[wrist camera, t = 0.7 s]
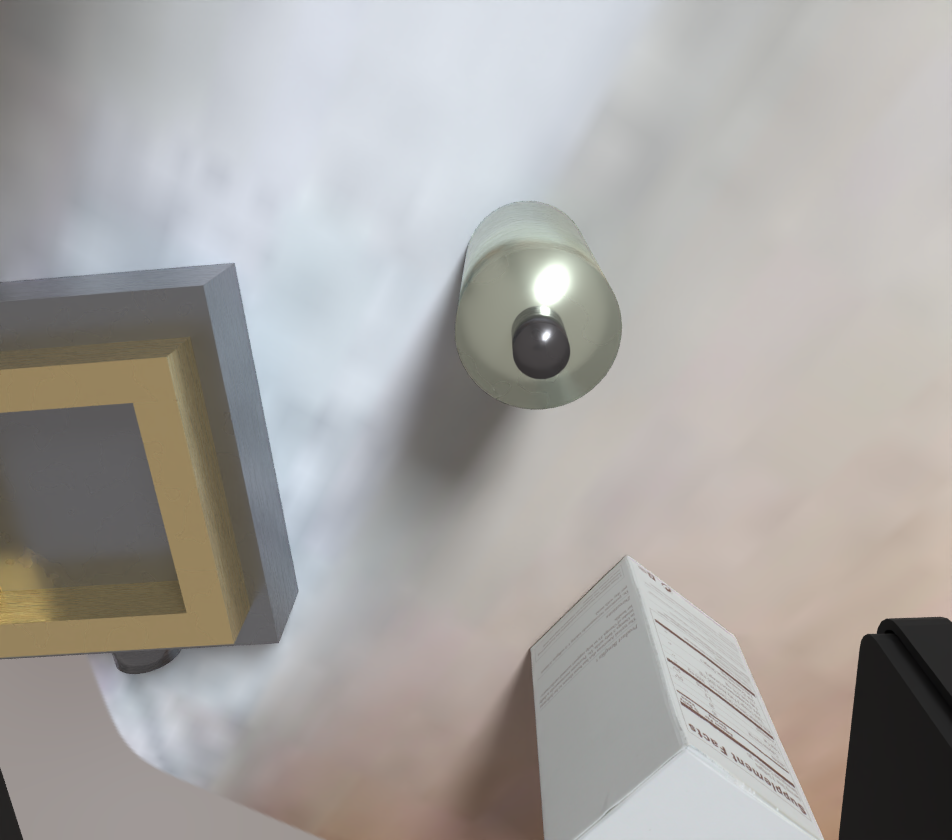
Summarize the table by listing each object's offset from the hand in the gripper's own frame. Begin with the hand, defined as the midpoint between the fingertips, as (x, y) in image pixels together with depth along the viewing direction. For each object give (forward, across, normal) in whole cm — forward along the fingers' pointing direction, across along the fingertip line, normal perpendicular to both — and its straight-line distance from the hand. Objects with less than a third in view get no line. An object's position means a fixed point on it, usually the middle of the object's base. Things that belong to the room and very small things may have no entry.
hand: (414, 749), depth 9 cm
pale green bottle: (+28, -2, 0) cm, 28 cm away
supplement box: (+28, -6, +18) cm, 35 cm away
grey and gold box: (+28, +17, +7) cm, 33 cm away
